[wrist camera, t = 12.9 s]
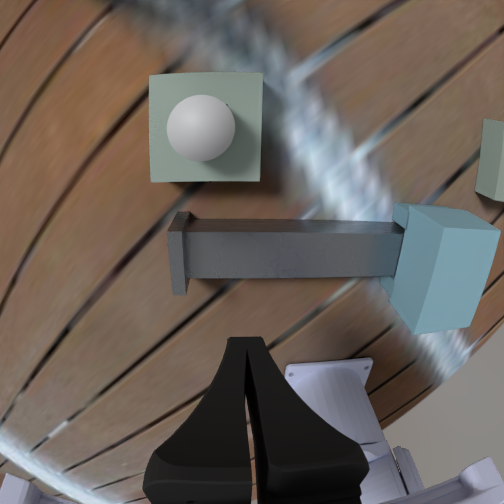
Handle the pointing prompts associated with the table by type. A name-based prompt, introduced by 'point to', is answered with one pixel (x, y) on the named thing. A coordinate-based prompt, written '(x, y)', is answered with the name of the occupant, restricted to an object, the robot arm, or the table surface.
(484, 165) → the green square holed block
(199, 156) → the green block white knob
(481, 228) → the block
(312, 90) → the table surface
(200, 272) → the rail
